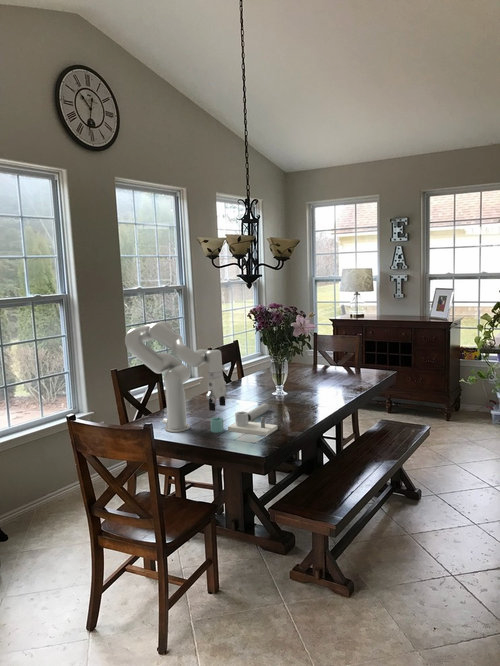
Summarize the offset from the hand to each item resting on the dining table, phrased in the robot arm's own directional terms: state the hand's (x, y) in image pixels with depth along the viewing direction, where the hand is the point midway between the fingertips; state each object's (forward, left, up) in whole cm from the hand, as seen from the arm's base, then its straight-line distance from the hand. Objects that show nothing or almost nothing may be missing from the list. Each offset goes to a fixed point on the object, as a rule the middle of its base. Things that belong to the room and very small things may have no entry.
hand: (217, 408), depth 272 cm
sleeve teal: (-1, 0, -12) cm, 12 cm away
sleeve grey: (+9, +8, -10) cm, 16 cm away
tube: (+6, +31, -12) cm, 34 cm away
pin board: (+15, +8, -12) cm, 21 cm away
